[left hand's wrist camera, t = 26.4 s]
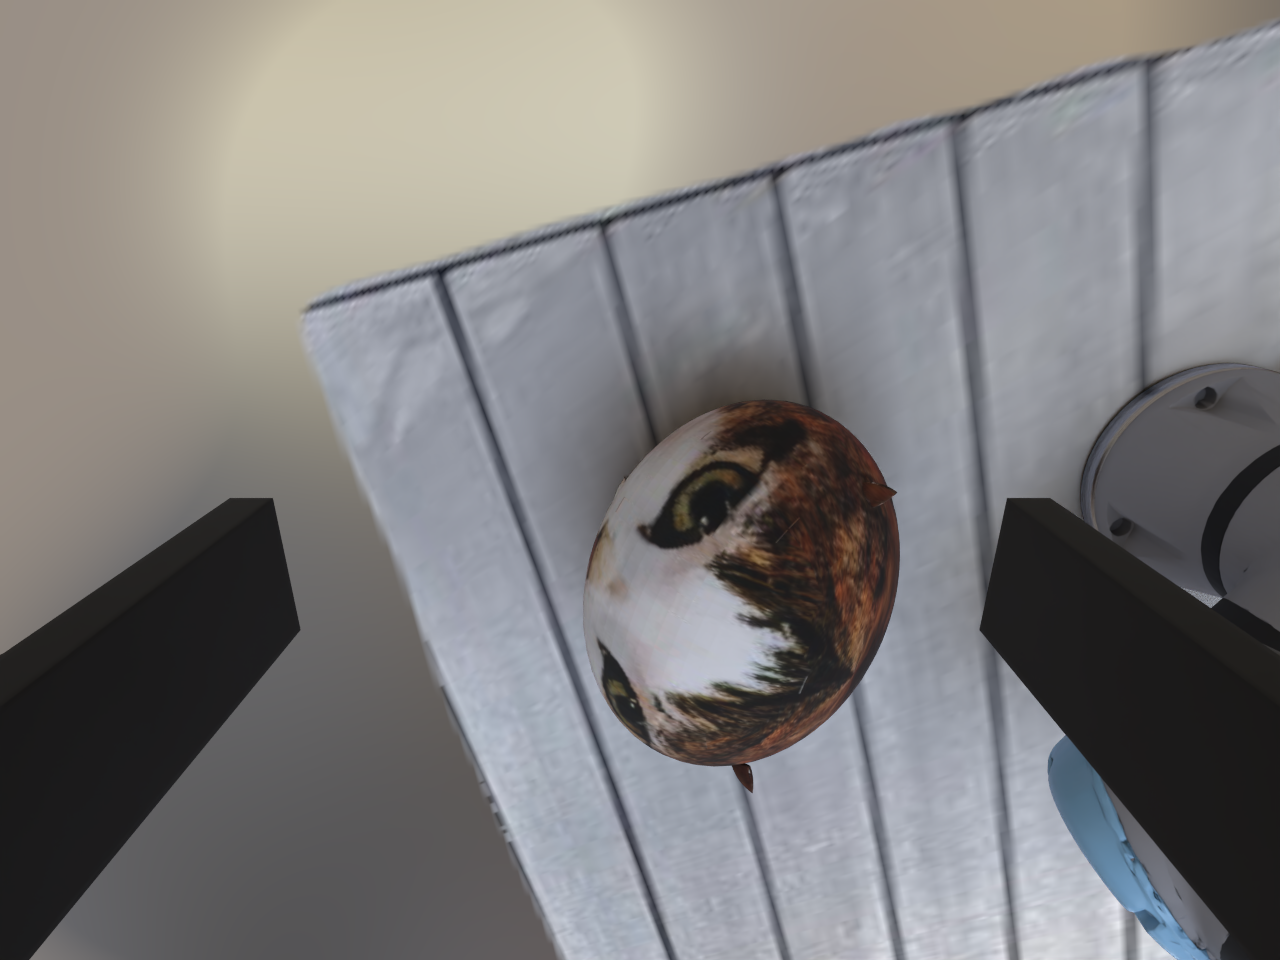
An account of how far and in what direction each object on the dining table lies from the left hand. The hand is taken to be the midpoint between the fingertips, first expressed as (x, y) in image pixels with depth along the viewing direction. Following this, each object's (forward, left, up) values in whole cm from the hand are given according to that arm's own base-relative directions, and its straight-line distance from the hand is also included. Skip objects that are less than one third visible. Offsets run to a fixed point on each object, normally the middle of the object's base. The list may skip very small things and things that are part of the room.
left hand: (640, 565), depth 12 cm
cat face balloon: (+12, +10, -33) cm, 36 cm away
